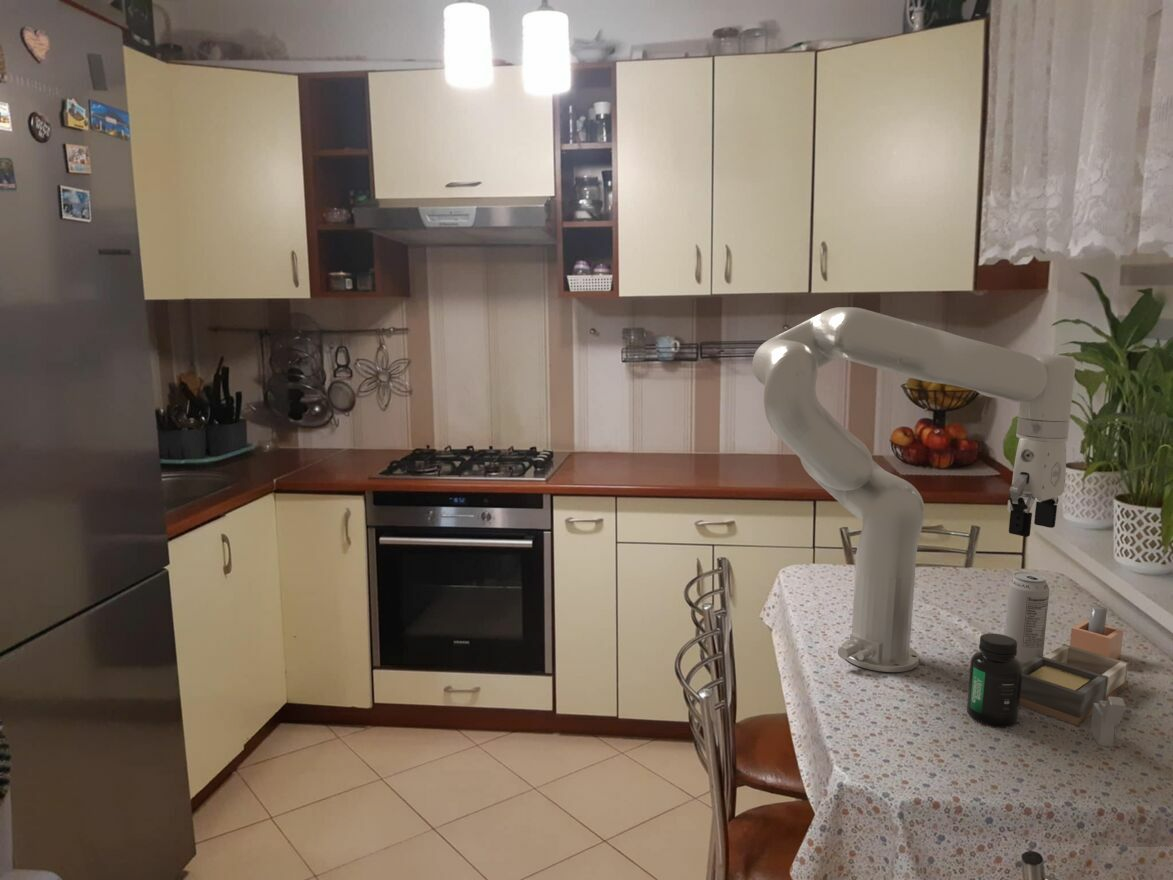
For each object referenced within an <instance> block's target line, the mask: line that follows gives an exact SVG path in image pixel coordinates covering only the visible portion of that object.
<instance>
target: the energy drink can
mask: <svg viewBox="0 0 1173 880" xmlns="http://www.w3.org/2000/svg"><path fill="white" fill-rule="evenodd" d="M1049 599H1050V587H1049V585H1048V583H1047V577H1045V576H1043V575H1041V574H1039V573H1033V572H1025V571H1024V572H1023V571H1022V572H1021V571H1019V572H1015V573H1014V574H1013V578H1012V579H1011V580H1010V582H1009V583H1008V593H1007V603H1006V614H1005V615H1006V616H1005V622H1004V624H1005V625H1004V634H1003V635H1006V636H1009V637H1011V638H1013V639H1014V640H1016V641H1017V655H1016V656H1015V657H1016V658H1017V659H1018V660H1019V661H1020V662H1021V664H1022V665H1023V664H1025V663H1027V662H1028V661H1030V660H1032V659H1033V658H1035V657H1037V656H1043V657H1044V649H1045V648H1044V647H1045V646H1044V645H1045V639H1046V638H1045V637H1046V630H1047V619H1048V618H1047V617H1048V611H1049V610H1048V608H1049Z"/></svg>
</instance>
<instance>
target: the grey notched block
mask: <svg viewBox="0 0 1173 880" xmlns="http://www.w3.org/2000/svg"><path fill="white" fill-rule="evenodd" d="M1125 709H1126V703H1125V701H1124V698H1123V697H1120V696H1116V697H1112V696H1110V697H1108V700H1107V701H1099V703H1093V711H1092V715H1091V721H1090V730H1089V731H1090V734H1091V736H1092V737H1093V738H1094V740H1095V742H1096V743H1097V745H1099V746H1103V747H1110V748H1113V745H1114V738H1115V737H1114V735H1115V727H1116V726H1120V723H1121V721H1122V717H1123V715H1124V713H1125Z"/></svg>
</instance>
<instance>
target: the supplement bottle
mask: <svg viewBox="0 0 1173 880" xmlns="http://www.w3.org/2000/svg"><path fill="white" fill-rule="evenodd" d="M978 649H979V650H978V651H976V652H975V653H974V654H972V656H971V658H970V665H969V675H968V685H967V687H968V688H967V699H966V700H967V701H966V711H967V714H968V715H969V717H970V718H972V719H973V720H974V721H976V722H978V723H981V724H983V725H986V726H991V727H995V728H1008V727H1013V726H1014V725H1016V723H1017V722H1018V720H1019V713H1020V712H1019V711H1020V705H1019V704H1020V694H1021V683H1022V673H1023V667H1022V664H1021V662H1020V661H1019V660H1018V659H1017V658H1016V657H1015V656H1016V655H1017V641H1016V640H1014V639H1013V638H1011V637H1009V636H1006V635H1004V634H1001V633H993V632H991V633H990V632H989V633H983V634H981V636H980V638H979V643H978Z"/></svg>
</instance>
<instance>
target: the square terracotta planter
mask: <svg viewBox="0 0 1173 880" xmlns="http://www.w3.org/2000/svg"><path fill="white" fill-rule="evenodd" d="M1107 614H1108V609H1107V608H1106V607H1105V606H1101V605H1090V609H1089V619H1088V620H1086V619H1085V620H1083V621H1082V622H1079V623H1077V624H1076V625H1075V626H1073V627H1071V630H1070V632H1071V633H1070V638H1069V640H1070V641H1069V646H1072V647H1076V648H1079V649H1083V650H1086V651H1089V652H1093V653H1096V654H1100V655H1103V656H1107V657H1110V658H1114V659H1117V660H1120V659H1121V655H1122V648H1123V647H1122V646H1123V637H1124V629H1121V628H1117V627H1114V626H1113V627H1112V626H1109V625H1106V621H1107Z"/></svg>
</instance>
